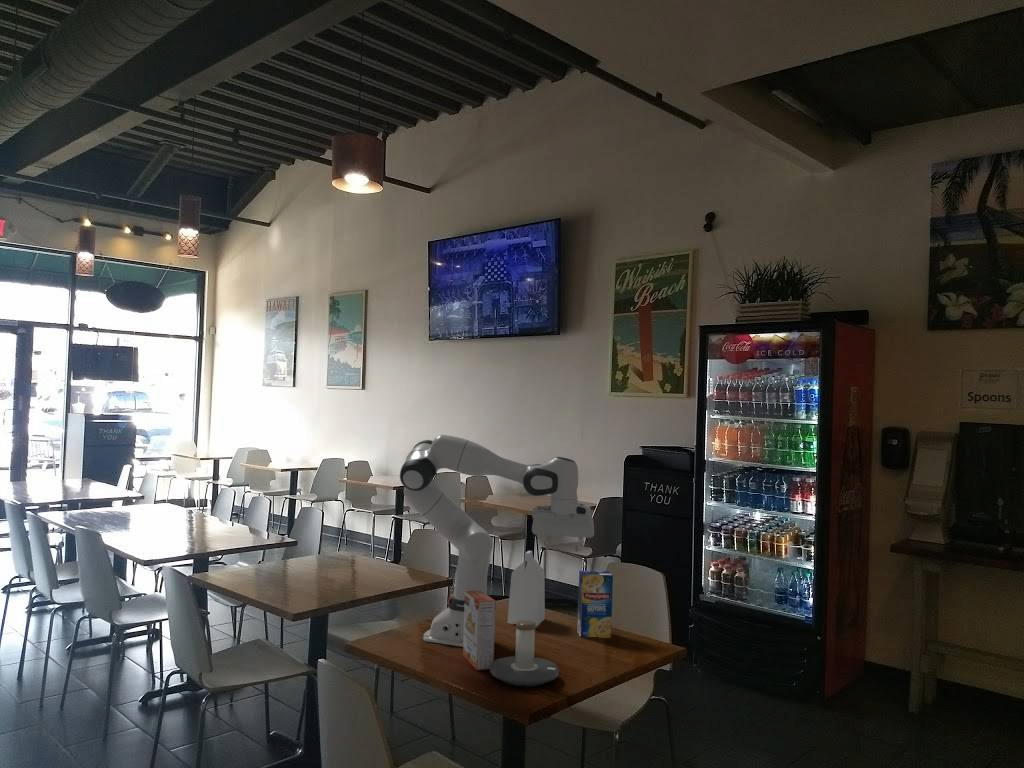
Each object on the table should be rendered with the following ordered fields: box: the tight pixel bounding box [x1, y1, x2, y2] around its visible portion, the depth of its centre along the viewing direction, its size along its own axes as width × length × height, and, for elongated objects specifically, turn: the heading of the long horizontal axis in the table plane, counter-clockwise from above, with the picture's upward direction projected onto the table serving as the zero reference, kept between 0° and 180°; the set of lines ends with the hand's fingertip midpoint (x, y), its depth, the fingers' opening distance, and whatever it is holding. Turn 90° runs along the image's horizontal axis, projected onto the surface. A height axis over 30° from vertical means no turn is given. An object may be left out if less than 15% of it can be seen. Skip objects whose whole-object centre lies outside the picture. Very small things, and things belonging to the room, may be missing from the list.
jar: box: [514, 621, 537, 669], centre depth 223 cm, size 6×6×12 cm
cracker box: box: [462, 590, 497, 671], centre depth 235 cm, size 14×6×21 cm, turn 21°
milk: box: [506, 550, 546, 627], centre depth 286 cm, size 12×12×26 cm
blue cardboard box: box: [577, 570, 614, 639], centre depth 271 cm, size 7×11×22 cm, turn 96°
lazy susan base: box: [502, 681, 545, 688], centre depth 222 cm, size 14×14×2 cm
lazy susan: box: [489, 655, 559, 684], centre depth 223 cm, size 20×20×2 cm
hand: (562, 549), depth 246 cm, fingers open, 8 cm apart
